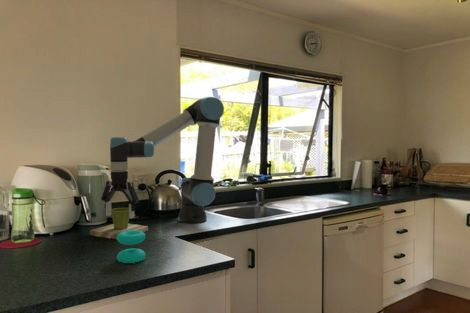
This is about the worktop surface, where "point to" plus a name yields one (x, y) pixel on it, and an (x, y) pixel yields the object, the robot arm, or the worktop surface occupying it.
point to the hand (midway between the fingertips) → (120, 216)
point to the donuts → (133, 253)
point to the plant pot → (120, 217)
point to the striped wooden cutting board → (115, 230)
